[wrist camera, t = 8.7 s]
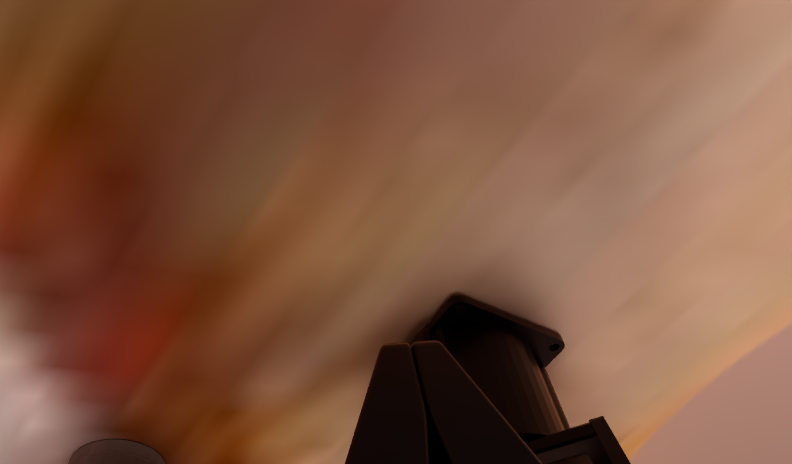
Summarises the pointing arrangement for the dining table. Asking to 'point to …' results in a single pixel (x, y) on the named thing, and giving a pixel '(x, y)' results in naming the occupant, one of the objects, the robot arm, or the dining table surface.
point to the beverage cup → (116, 453)
